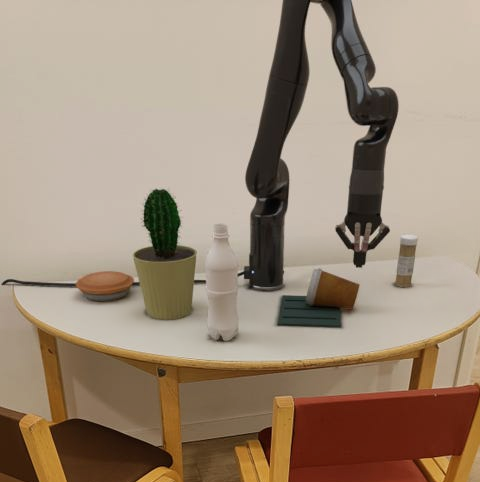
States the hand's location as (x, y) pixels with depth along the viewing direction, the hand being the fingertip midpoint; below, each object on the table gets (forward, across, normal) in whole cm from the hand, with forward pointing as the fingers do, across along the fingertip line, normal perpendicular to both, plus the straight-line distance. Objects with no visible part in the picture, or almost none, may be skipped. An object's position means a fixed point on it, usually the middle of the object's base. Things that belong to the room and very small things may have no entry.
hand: (358, 266), depth 143 cm
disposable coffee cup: (+8, -1, -3) cm, 9 cm away
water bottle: (+12, +30, +17) cm, 37 cm away
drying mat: (+12, +11, -1) cm, 16 cm away
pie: (+12, +66, -9) cm, 68 cm away
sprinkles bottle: (+12, -14, -24) cm, 31 cm away
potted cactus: (+12, +46, +2) cm, 48 cm away
